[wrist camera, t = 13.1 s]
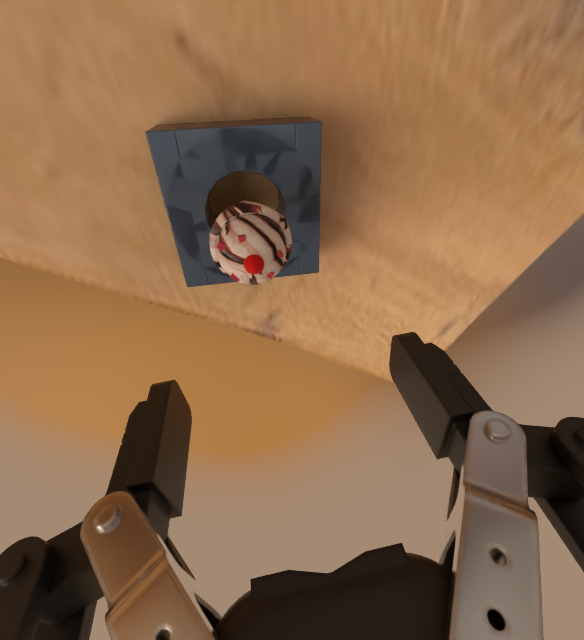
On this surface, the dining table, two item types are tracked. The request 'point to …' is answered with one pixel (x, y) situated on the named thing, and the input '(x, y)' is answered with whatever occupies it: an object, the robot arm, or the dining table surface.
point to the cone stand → (234, 156)
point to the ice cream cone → (250, 242)
